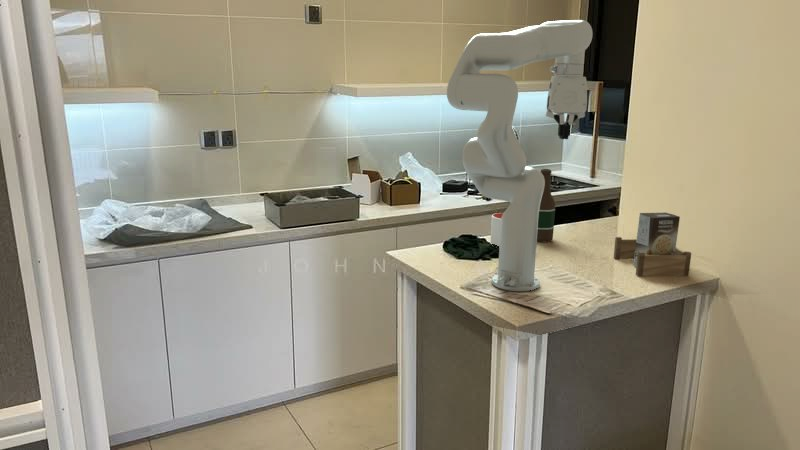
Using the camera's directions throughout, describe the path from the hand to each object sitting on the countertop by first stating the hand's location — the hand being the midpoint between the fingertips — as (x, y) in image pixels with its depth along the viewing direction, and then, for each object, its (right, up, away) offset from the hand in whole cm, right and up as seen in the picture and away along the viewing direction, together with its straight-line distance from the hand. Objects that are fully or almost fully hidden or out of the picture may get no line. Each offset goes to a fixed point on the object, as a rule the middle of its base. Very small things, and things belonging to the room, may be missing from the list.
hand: (563, 138), depth 176 cm
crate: (+28, -36, +9) cm, 47 cm away
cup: (-11, -31, +29) cm, 44 cm away
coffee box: (+28, -37, +8) cm, 47 cm away
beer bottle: (+2, -29, +38) cm, 48 cm away
